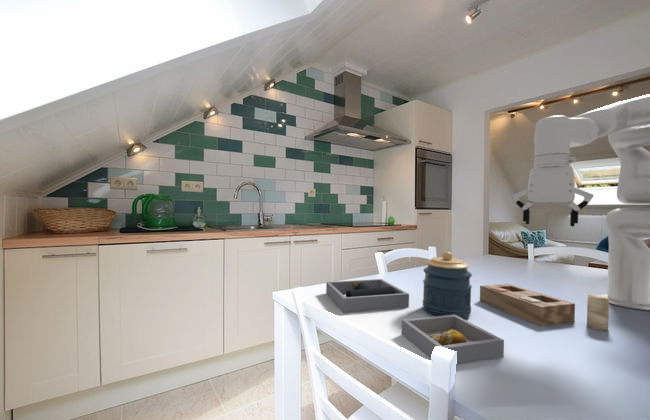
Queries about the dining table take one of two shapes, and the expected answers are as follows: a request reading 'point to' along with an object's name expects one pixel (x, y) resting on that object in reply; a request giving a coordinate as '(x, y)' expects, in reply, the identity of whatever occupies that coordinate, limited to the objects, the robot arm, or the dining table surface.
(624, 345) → the dining table surface
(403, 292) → the tray
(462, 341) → the fruit
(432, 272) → the canister
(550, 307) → the socket block
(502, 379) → the dining table surface
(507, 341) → the dining table surface
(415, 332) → the fruit corral
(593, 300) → the peg
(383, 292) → the pipe connector
